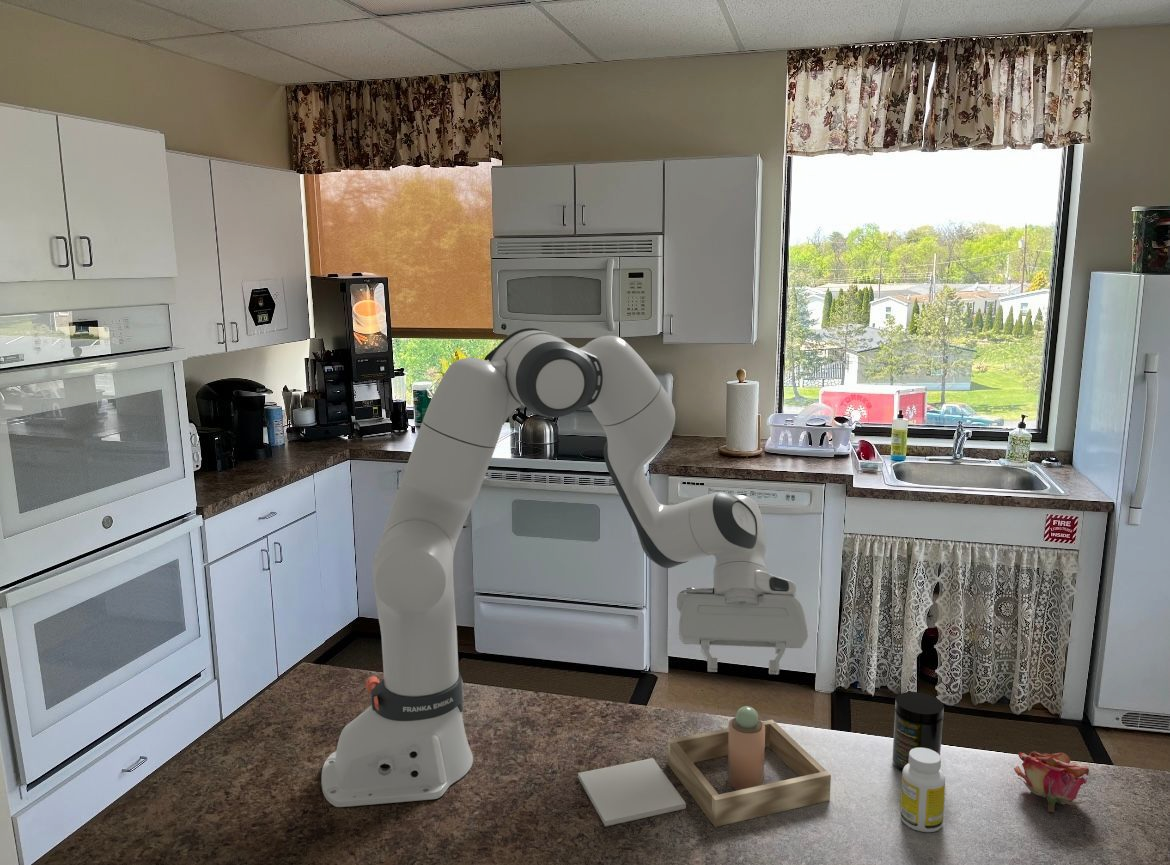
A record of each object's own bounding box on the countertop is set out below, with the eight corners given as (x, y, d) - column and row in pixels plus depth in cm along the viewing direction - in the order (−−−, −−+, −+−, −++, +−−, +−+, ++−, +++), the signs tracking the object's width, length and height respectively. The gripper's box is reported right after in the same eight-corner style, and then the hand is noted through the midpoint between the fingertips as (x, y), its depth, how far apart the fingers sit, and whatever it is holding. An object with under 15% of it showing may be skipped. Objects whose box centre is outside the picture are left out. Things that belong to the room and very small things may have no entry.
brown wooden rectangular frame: (715, 827, 115) (715, 800, 114) (667, 763, 130) (667, 739, 129) (829, 800, 121) (830, 774, 120) (771, 742, 136) (772, 719, 135)
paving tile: (605, 826, 116) (605, 821, 115) (578, 777, 127) (578, 772, 127) (685, 808, 119) (685, 803, 119) (652, 762, 130) (652, 757, 130)
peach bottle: (738, 795, 122) (739, 719, 120) (721, 775, 127) (722, 702, 125) (770, 788, 124) (772, 713, 122) (752, 768, 129) (754, 696, 126)
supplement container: (936, 784, 124) (940, 718, 122) (887, 771, 127) (891, 707, 125) (942, 761, 130) (947, 698, 128) (896, 749, 133) (899, 688, 131)
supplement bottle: (943, 814, 117) (948, 749, 115) (941, 838, 112) (946, 770, 111) (901, 804, 119) (905, 740, 118) (897, 827, 115) (902, 761, 113)
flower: (1100, 822, 112) (1103, 760, 115) (1027, 802, 114) (1032, 741, 117) (1066, 821, 121) (1070, 763, 124) (999, 802, 123) (1004, 745, 126)
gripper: (677, 579, 139) (675, 662, 131) (805, 583, 136) (812, 667, 129) (677, 595, 144) (676, 675, 136) (801, 599, 141) (807, 681, 134)
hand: (743, 672), depth 132 cm, fingers open, 8 cm apart
